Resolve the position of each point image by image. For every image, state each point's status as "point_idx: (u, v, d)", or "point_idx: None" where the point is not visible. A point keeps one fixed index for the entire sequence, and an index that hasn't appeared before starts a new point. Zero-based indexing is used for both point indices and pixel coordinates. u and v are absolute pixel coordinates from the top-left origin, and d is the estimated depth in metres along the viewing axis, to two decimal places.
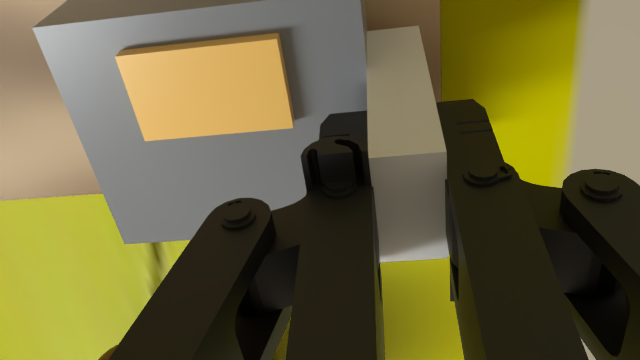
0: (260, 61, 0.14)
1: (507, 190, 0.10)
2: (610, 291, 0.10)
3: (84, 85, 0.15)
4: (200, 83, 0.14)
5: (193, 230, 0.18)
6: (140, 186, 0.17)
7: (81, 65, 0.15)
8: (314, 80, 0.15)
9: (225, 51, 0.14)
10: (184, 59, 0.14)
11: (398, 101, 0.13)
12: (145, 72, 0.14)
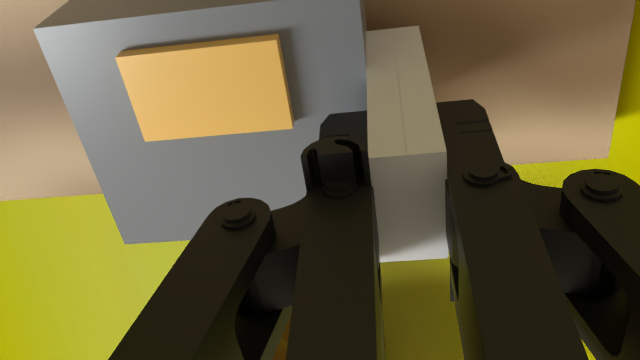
0: (260, 62, 0.14)
1: (507, 190, 0.10)
2: (609, 291, 0.10)
3: (84, 86, 0.15)
4: (200, 84, 0.15)
5: (193, 230, 0.18)
6: (140, 186, 0.17)
7: (81, 66, 0.15)
8: (313, 81, 0.15)
9: (225, 52, 0.14)
10: (184, 60, 0.14)
11: (398, 101, 0.13)
12: (145, 73, 0.14)
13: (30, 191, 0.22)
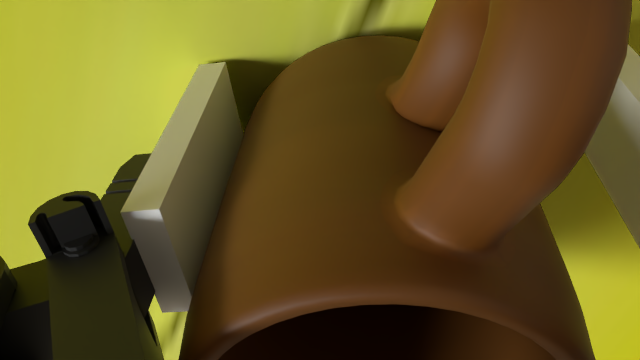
0: None
1: None
2: None
3: None
4: None
5: None
6: None
7: None
8: None
9: None
10: None
11: None
12: None
13: None
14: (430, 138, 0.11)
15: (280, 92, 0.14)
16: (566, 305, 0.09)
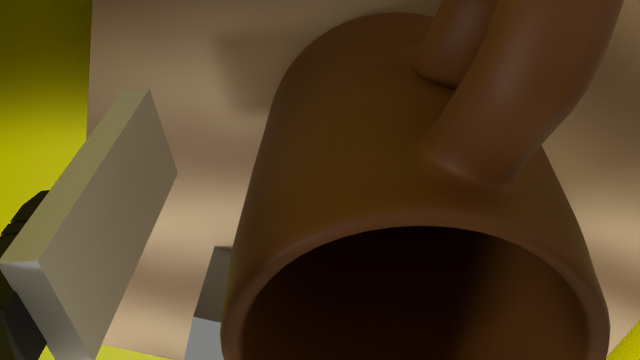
0: None
1: None
2: None
3: (207, 351, 0.21)
4: None
5: None
6: None
7: (213, 342, 0.20)
8: None
9: None
10: None
11: None
12: None
13: (112, 341, 0.26)
14: (449, 95, 0.12)
15: (306, 63, 0.15)
16: (573, 235, 0.10)
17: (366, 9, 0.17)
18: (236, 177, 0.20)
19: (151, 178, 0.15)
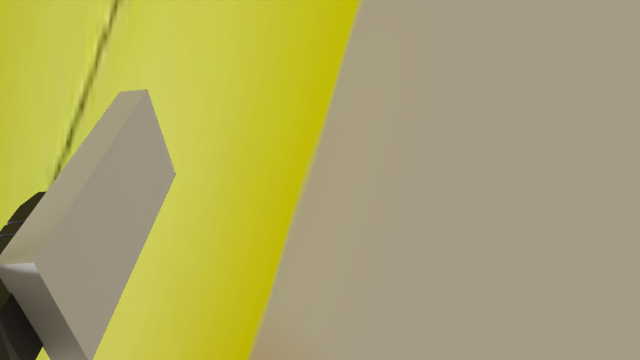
0: None
1: None
2: None
3: None
4: None
5: None
6: None
7: None
8: None
9: None
10: None
11: None
12: None
13: None
14: None
15: None
16: None
17: None
18: None
19: (149, 179, 0.15)
